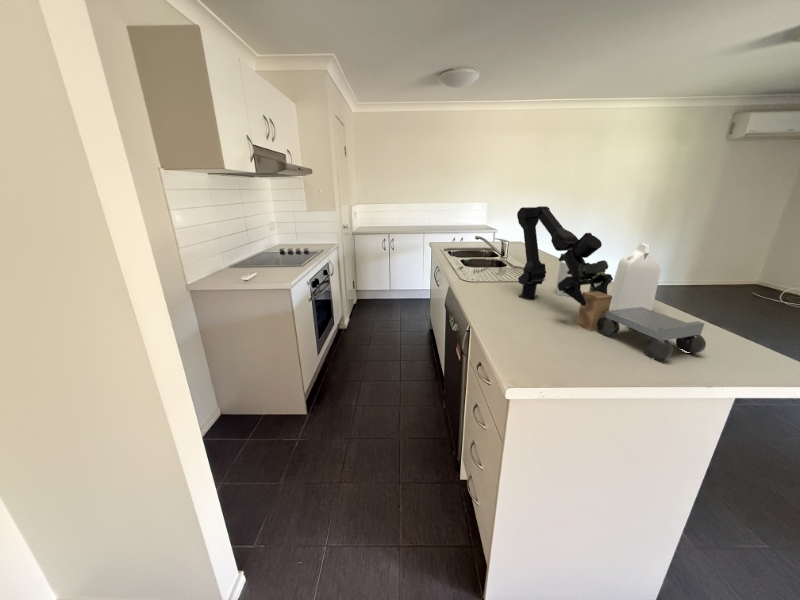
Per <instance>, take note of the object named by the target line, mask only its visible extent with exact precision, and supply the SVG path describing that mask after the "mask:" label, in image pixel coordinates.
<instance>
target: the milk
mask: <svg viewBox="0 0 800 600" xmlns="http://www.w3.org/2000/svg"><path fill="white" fill-rule="evenodd" d="M650 247H651V246H650V245H649V244H646V243H643V242H641V243H640V242H639V243H638V246H637V248H636V250H634V251H631V252H630V253H628V254H627V255H625V256H623V257H622V258H621V259H620V260H619V262H618V264H617V268H616V271H615V275H614V278H613V280H612V286H611V288H610V292H609V295H611V296H612V299H611V303H610V305H611V307H612V308H613V309H614V310H619V309H627V308H636V307H643V308H646V309H649V310H652V311H653V308H654V302H655V298H656V294H657V290H658V285H659V281H660V276H661V271H662V268H661V266H660V265H659V263H658V262H657V261H656V260H655V259H654V257H653V256H652V255H651V254H650ZM611 307H610V308H611ZM612 308H611V309H612ZM613 309H612V310H613Z"/></svg>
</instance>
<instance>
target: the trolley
mask: <svg viewBox="0 0 800 600" xmlns="http://www.w3.org/2000/svg"><path fill="white" fill-rule="evenodd" d="M705 324H706V323H704V322H702V321H697V320H696V321H690V322H685V321H684V320H680V319H678V318H676V317H675V318H674V317H671V316H668V315H666V314H663V313H660V312H657V311H654V310H653V309H652V310H649V309H646V308H643V307H636V308H627V309H619V310H613V309H611V310H609V311H606V313H605V317H602V318H600V319H599V320H598V323H597V328H598V330H597V331H598V332H599V333H600V334H601V335H603V336H613V335H616V334H618V333H619V331H620V325H622V326H626V327H628V329H629V330H631V329H632V330H634V331H633V332H640V333H642V334H644V335H647V336H649V337H651V338H648V339H647V340H646V341H645V342H644V345H643V348H644V349H643V350H644V352H645V354H646V355H647V357H649V356H650V357H652V358H654V359H653V360H655V359H656V361H660V360H666V359H669V358H670V357H672V355H673V353H674V348H673V345H672V344H671V342H670V341H669V340H675V339H676V340H675V344H676V346H677V349H679V348H680V349H683V350H685V351H687V352H690V353H692V354H693V355H694V354H698V353H701V352H703V351H704V350H706V345H707V343H706V340H705V338H704V337H703V336H702V333H703V329H704V325H705ZM632 330H631V331H632ZM680 349H679V350H680ZM692 354H691V355H692ZM650 357H649V358H650ZM652 358H651V359H652Z"/></svg>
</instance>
